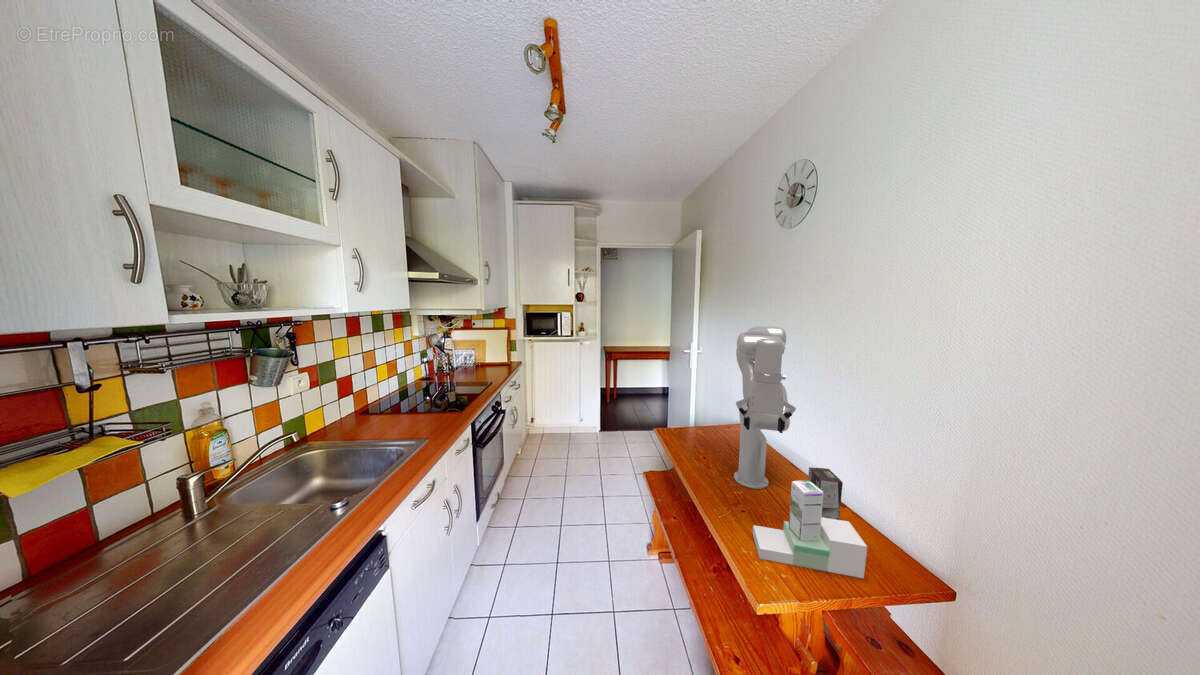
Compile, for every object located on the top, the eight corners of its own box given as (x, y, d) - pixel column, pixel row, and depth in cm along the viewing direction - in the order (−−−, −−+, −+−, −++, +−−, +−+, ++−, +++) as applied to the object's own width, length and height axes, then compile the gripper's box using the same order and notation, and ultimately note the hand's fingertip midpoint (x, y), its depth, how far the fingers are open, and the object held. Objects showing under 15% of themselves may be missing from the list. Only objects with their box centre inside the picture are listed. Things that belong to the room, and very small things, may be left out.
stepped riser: (752, 534, 102) (754, 506, 101) (846, 550, 95) (848, 521, 94) (759, 559, 92) (761, 529, 91) (864, 579, 85) (867, 547, 84)
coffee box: (839, 531, 103) (843, 482, 101) (816, 528, 104) (820, 480, 103) (825, 513, 112) (829, 468, 110) (804, 510, 113) (808, 466, 111)
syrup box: (820, 541, 90) (825, 491, 89) (799, 541, 90) (803, 491, 89) (807, 527, 96) (811, 480, 95) (787, 527, 96) (790, 480, 94)
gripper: (793, 377, 105) (789, 428, 107) (735, 373, 110) (733, 423, 112) (801, 382, 98) (797, 437, 100) (739, 378, 103) (736, 431, 105)
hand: (763, 429), depth 106 cm, fingers open, 9 cm apart
